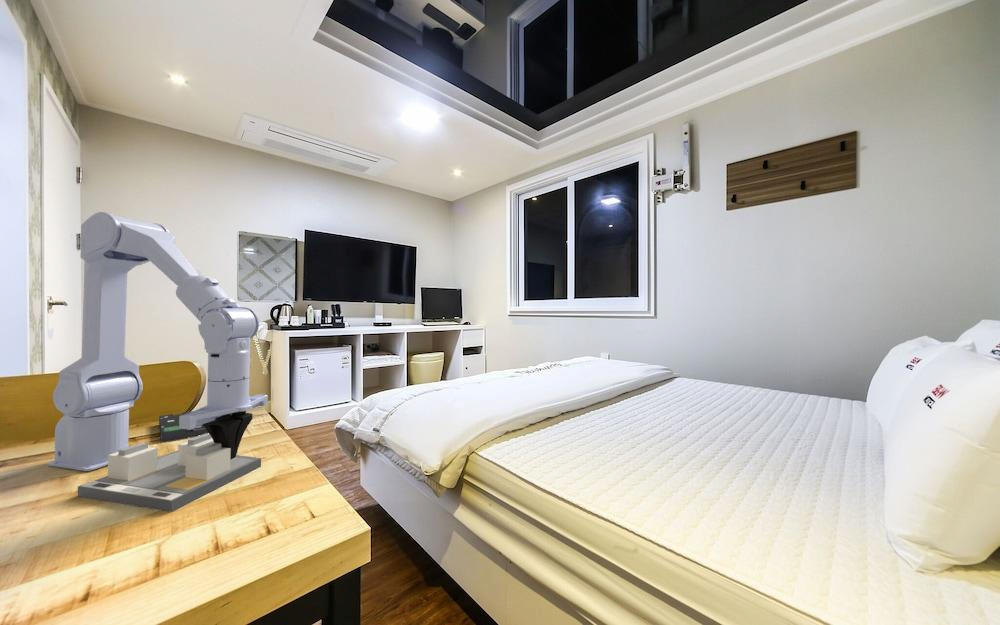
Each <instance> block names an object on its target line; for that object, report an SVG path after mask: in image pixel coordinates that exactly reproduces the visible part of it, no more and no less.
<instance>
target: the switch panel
mask: <svg viewBox="0 0 1000 625" xmlns="http://www.w3.org/2000/svg"><path fill="white" fill-rule="evenodd" d="M260 467H262V458H261V457H255V456H247V455H240V454H236V457H235V458H233V459H231V460H230V470H228V471H225V472H223V473H221V474H219V475H217V476H215V477H213V478H210V479H208V480H201V479H194V478H187V477H185V473H186V466H181V465H178V450H176V451H173V452H170V453H166V454H164V455H161V456H159V457H157V470H154V471H152V472H149V473H147V474H144V475H141V476H139V477H136V478H134V479H131V480H129V481H128V480H121V479H114V478H108V475H106V476H104V477H100V478H98V479H95V480H91V481H89V482H86V483H83V484H80V485H78V486H77V497H78V498H84V499H90V500H96V501H102V502H109V503H116V504H120V505H127V506H134V507H140V508H145V509H152V510H157V511H158V510H159V511H163V512H171V513H172V512H174V511H176V510H178V509H180V508H182V507H185V505H189V504H190V503H192V502H194V501H195V500H197V499H200V498H202V497H204V496H206V495H208V494H210V493H212V492H213V491H215V490H218V489H219V488H222V487H223V486H225V485H227V484H229V483H231V482H234V481H235V480H237V479H239V478H241V477H243V476H245V475H246V474H249V473H251V472H253V471H254V470H256V469H258V468H260Z"/></svg>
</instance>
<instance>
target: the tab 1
mask: <svg viewBox="0 0 1000 625" xmlns="http://www.w3.org/2000/svg"><path fill="white" fill-rule="evenodd" d="M158 448H159V447H152V446H149V443H147V442H139V443H137V444H136V443H135V444H133V445H130V446H129V445H128V447H126V448H123V449H120V450H119V451H118V452H116V453H113V454H110V455H108V465H107V476H108V478H114V479H121V480H128V481H129V480H131V479H134V478H136V477H139V476H141V475H144V474H147V473H149V472H152V471H154V470H157V458H158V454H159V453H158Z"/></svg>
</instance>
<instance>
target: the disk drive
mask: <svg viewBox="0 0 1000 625" xmlns="http://www.w3.org/2000/svg"><path fill="white" fill-rule="evenodd" d="M193 411H194V410H192V411H186V412H185V411H184V412H183V413H179V414H172V413H170V414H165V415H164V414H163V415H159V416H158V428H159V432H160V433H159V434H160V440H161V441H160V442H161V443H165V442H166V443H167V442H171V441H177V440H181V439H189V438H188V437H190V438H194V437H193V436H195V437H197V436H198V435H203V434H206V433H207V434H208V433H209V432H208V431H207V430H206V428H205V427H204V426H203V424H201V425H198V426H196V428H193V429H190V430H189V429H180V428H179V416H181V415H185V414H188V413H190V412H193Z"/></svg>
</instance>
